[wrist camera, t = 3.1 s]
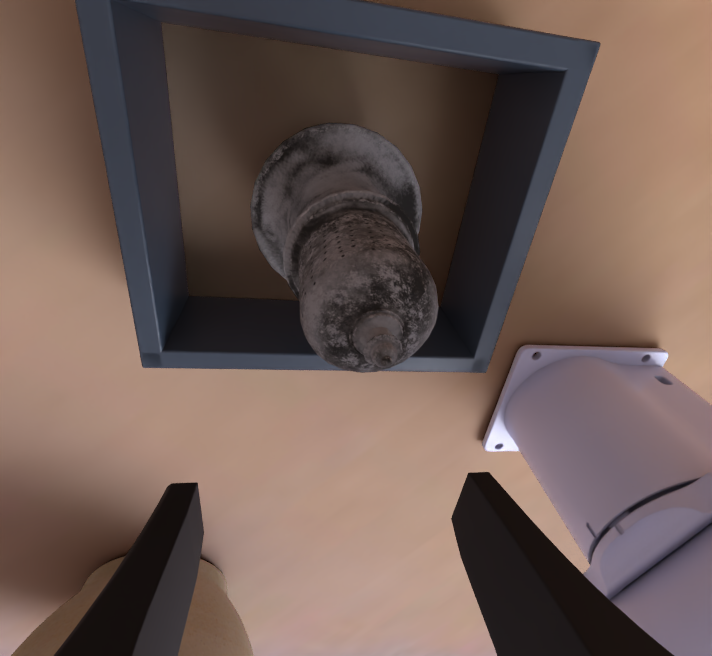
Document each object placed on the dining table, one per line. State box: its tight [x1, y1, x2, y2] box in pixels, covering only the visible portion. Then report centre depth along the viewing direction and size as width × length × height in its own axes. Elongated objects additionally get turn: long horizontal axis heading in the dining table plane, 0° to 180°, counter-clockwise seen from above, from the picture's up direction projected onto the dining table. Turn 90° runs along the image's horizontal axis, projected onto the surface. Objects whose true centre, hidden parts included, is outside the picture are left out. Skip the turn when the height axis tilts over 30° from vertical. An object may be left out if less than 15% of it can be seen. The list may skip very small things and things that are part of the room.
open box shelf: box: [75, 0, 600, 373], centre depth 15 cm, size 14×12×4 cm
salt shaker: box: [250, 123, 439, 372], centre depth 12 cm, size 6×6×12 cm
